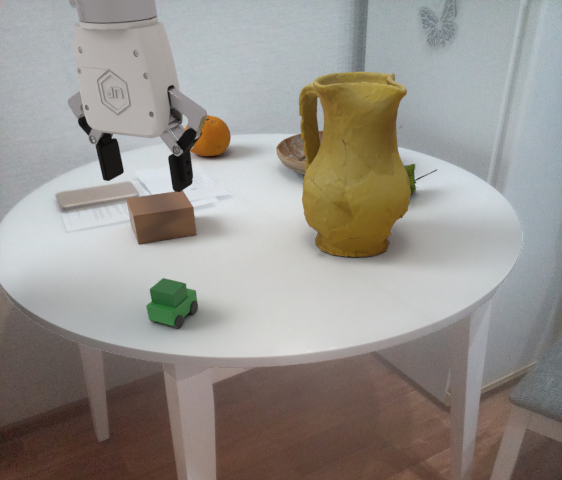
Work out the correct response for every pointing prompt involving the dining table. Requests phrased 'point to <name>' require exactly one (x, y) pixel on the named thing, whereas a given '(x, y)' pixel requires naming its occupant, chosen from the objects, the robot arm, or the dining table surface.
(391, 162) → the pitcher
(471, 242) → the dining table surface
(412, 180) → the toy tank
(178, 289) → the toy car
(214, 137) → the fruit
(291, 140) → the ceramic bowl
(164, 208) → the wooden block
